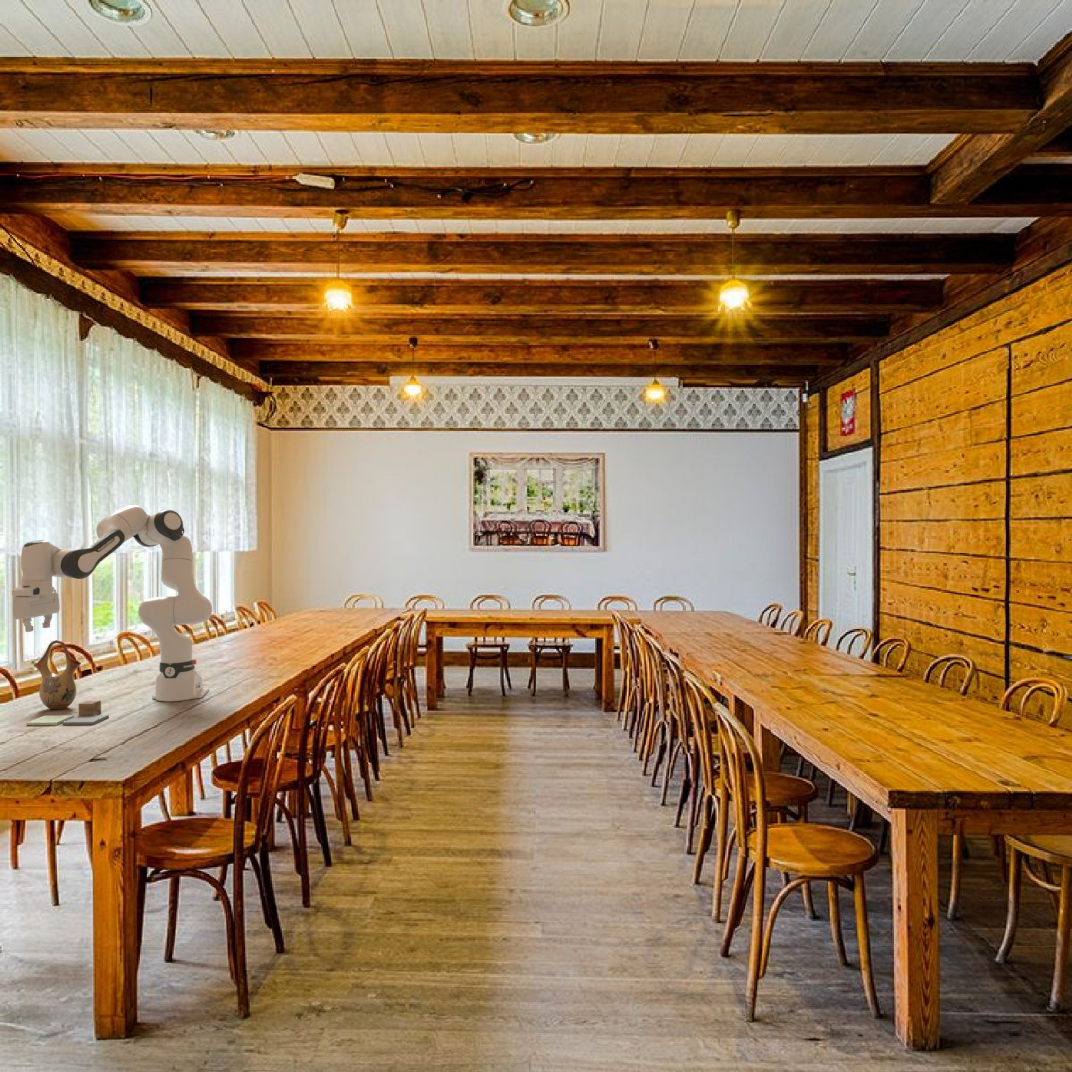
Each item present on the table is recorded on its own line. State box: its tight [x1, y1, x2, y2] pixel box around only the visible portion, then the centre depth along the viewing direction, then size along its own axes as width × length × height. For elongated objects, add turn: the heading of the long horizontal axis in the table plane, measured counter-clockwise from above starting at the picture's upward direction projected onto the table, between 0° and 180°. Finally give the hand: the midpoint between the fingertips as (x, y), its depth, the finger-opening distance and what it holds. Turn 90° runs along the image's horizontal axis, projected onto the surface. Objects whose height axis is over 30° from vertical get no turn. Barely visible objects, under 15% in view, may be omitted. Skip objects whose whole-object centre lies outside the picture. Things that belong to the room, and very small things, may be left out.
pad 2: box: [62, 714, 110, 726], centre depth 271 cm, size 10×10×1 cm
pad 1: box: [25, 714, 75, 726], centre depth 271 cm, size 10×10×1 cm
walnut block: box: [78, 699, 102, 716], centre depth 279 cm, size 5×5×5 cm
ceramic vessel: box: [33, 639, 82, 710], centre depth 291 cm, size 16×9×25 cm, turn 94°
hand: (38, 629), depth 270 cm, fingers open, 8 cm apart
